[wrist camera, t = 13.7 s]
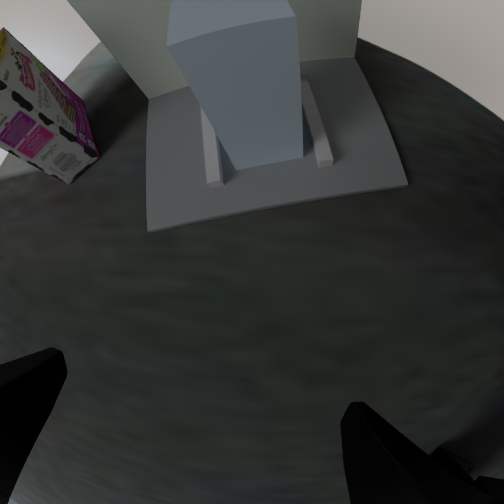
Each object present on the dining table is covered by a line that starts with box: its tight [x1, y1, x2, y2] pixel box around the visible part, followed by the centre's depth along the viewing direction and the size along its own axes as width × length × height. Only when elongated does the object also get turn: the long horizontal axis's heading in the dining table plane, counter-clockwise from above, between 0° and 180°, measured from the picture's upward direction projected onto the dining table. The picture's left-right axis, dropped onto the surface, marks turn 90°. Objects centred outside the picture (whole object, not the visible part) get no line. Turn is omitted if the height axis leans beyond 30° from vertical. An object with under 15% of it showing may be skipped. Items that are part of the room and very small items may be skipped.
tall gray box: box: [166, 0, 303, 170], centre depth 15 cm, size 6×5×12 cm
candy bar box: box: [0, 28, 99, 185], centre depth 17 cm, size 11×5×16 cm, turn 32°
